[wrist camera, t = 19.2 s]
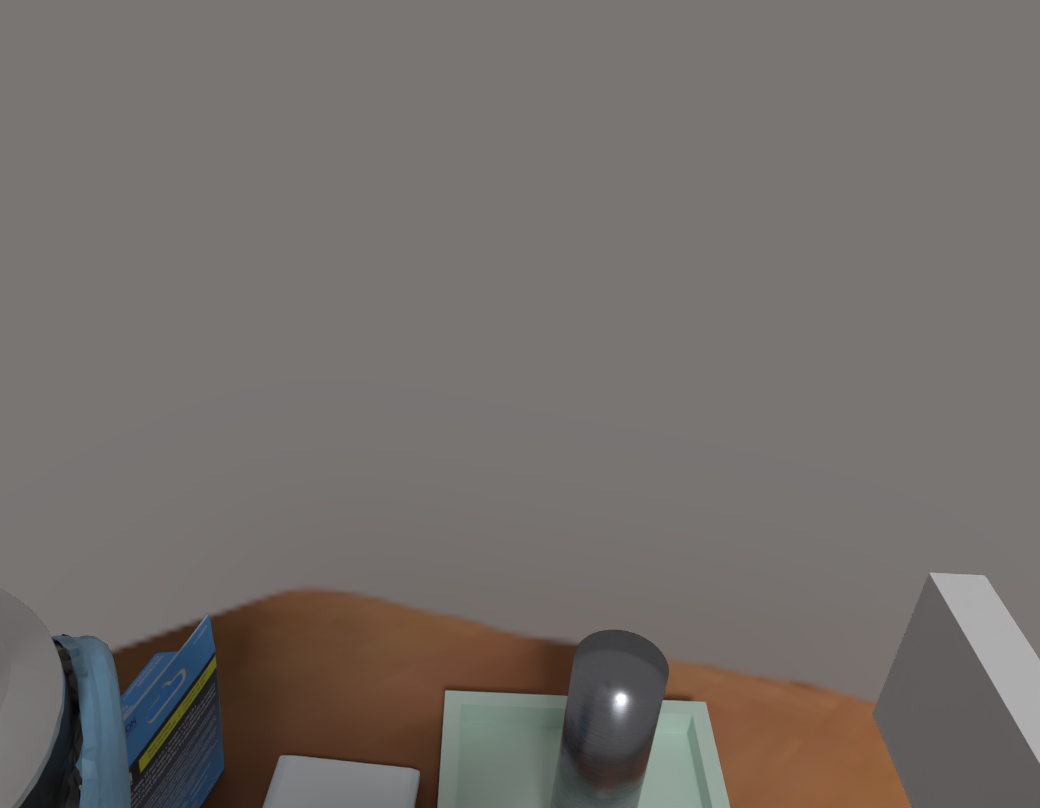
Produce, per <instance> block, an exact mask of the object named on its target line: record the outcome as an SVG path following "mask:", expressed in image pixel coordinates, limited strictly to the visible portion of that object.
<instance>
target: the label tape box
mask: <svg viewBox="0 0 1040 808" xmlns="http://www.w3.org/2000/svg"><path fill="white" fill-rule="evenodd" d="M121 702H122V710H123V718H124V726H125V735H126V744H127V754H128V765H129V776H130V789H131V808H200V807H201V805H202V804H203V802H204V801H205V799H206V798H207V796H208V794H209V793H210V791H211V790H212V788H213V786H214V785H215V783H216V782H217V780H218V778H219V777H220V775H221V773H222V772H223V770H224V768H225V767H224V754H223V741H222V724H221V709H220V699H219V684H218V673H217V662H216V649H215V645H214V640H213V634H212V628H211V622H210V617H209V615H208V614H207V615H206V616H205V617H204V619H203V620H202V622H201V623H200V624H199V626H198V627H197V628H196V630H195V631H194V632H193V634H192V635H191V636H190V638H189V639H188V640H187V641H186V643H185V644H184V645H183V646H182V648H181V649H180V650H179V651H178V652H162V653H156V654H155V655H154V656H153V657H152V659H151V660H150V661H149V662H148V664H147V665H146V666H145V667H144V669H143V670H142V671H141V672H140V674H139V675H138V676H137V677H136V679H135V680H134V681H133V682H132V684H131V685H130V686H129V688H128V689H127V690H126V691H125V693H124V694H123V695H122V696H121Z"/></svg>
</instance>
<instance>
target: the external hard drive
mask: <svg viewBox="0 0 1040 808" xmlns="http://www.w3.org/2000/svg"><path fill="white" fill-rule="evenodd" d="M419 782H420V772H419V771H418V770H416V769H413V768H406V767H396V766H388V765H378V764H368V763H359V762H350V761H340V760H332V759H322V758H312V757H304V756H295V755H281V756H280V757H279V760H278V763H277V766H276V769H275V771H274V774H273V777H272V780H271V783H270V786H269V789H268V792H267V795H266V798H265V801H264V804H263V807H262V808H415V805H416V799H417V793H418V788H419Z"/></svg>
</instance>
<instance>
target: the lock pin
mask: <svg viewBox="0 0 1040 808" xmlns="http://www.w3.org/2000/svg"><path fill="white" fill-rule="evenodd" d="M668 676H669V669H668V664H667V661H666V659H665V657H664V655H663V654H662V652H661V651H660V650H659V649H658V648H657V647H656V646H655V645H654V644H653V643H651V642H650V641H649V640H647V639H645V638H644V637H641V636H640V635H637V634H635V633H631V632H628V631H622V630H605V631H599V632H596V633H593V634H591V635H589V636H588V637H586V638H585V639H584V640H582V641H581V642H580V644H579V645H578V647H577V648H576V651H575V654H574V660H573V666H572V672H571V678H570V685H569V691H568V697H567V703H566V710H565V716H564V722H563V728H562V735H561V741H560V747H559V753H558V759H557V766H556V772H555V778H554V784H553V791H552V797H551V803H550V808H638V803H639V799H640V795H641V791H642V786H643V782H644V778H645V774H646V769H647V765H648V761H649V757H650V752H651V748H652V744H653V740H654V735H655V731H656V727H657V723H658V718H659V714H660V710H661V706H662V701H663V697H664V693H665V689H666V684H667V680H668Z"/></svg>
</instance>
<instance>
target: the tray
mask: <svg viewBox="0 0 1040 808" xmlns="http://www.w3.org/2000/svg"><path fill="white" fill-rule="evenodd" d="M567 697H568V696H559V695H537V694H515V693H492V692H470V691H448V690H445V703H444V717H443V732H442V747H441V762H440V777H439V791H438V806H437V808H550V803H551V797H552V791H553V784H554V778H555V772H556V766H557V759H558V753H559V747H560V741H561V735H562V728H563V722H564V716H565V710H566V703H567ZM638 808H730V805H729V800H728V796H727V792H726V788H725V783H724V779H723V775H722V770H721V766H720V762H719V758H718V753H717V749H716V745H715V740H714V736H713V732H712V727H711V723H710V719H709V715H708V710H707V706H706V702H693V701H671V700H663V701H662V706H661V710H660V714H659V718H658V723H657V727H656V731H655V735H654V740H653V744H652V748H651V752H650V757H649V761H648V765H647V769H646V774H645V778H644V782H643V786H642V791H641V795H640V799H639V803H638Z"/></svg>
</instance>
